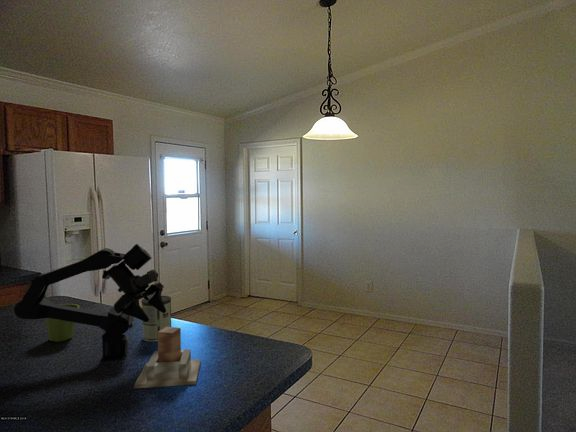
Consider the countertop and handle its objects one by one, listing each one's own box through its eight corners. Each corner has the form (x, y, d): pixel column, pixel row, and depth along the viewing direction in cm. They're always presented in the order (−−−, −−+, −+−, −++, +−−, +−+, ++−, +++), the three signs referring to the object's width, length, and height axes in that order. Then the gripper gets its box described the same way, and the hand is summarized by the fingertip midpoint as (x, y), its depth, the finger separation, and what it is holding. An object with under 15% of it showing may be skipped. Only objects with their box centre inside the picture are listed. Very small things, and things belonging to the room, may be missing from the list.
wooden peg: (158, 373, 106) (157, 331, 106) (167, 366, 111) (166, 326, 110) (172, 375, 105) (172, 333, 105) (181, 368, 110) (180, 327, 109)
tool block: (134, 388, 100) (134, 369, 100) (146, 365, 114) (146, 349, 114) (195, 384, 102) (195, 366, 102) (200, 362, 116) (200, 346, 116)
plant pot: (50, 347, 128) (49, 315, 128) (36, 339, 135) (35, 309, 135) (86, 337, 138) (85, 307, 137) (71, 330, 145) (70, 302, 144)
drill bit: (136, 327, 150) (118, 314, 144) (125, 331, 151) (107, 319, 145) (139, 316, 154) (121, 303, 148) (128, 320, 156) (111, 308, 149)
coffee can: (150, 331, 144) (149, 295, 143) (176, 332, 143) (175, 295, 142) (136, 341, 134) (135, 302, 133) (164, 342, 133) (163, 303, 132)
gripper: (121, 268, 110) (155, 308, 107) (158, 258, 128) (188, 292, 125) (99, 293, 112) (132, 332, 110) (138, 280, 130) (167, 314, 128)
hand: (157, 316), depth 118 cm, fingers open, 9 cm apart
